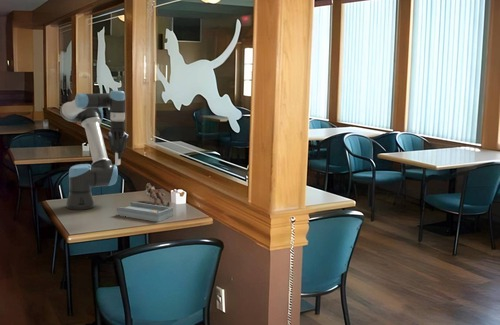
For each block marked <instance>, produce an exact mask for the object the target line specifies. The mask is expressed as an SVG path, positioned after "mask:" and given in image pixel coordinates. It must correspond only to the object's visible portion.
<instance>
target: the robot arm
mask: <svg viewBox="0 0 500 325" xmlns="http://www.w3.org/2000/svg"><path fill="white" fill-rule="evenodd" d="M103 108H104V109H105V108H106V109H107V108H109V110H110V115H109V116H110V117H109V118H110V122H109V124H110V125H109V126H110V131H109V132H106V136H107V139H108V144H109V148H110V151H111V152H113V158H114V160H115V161H114V162H115V163H114V164H113V162H112V160H111V159H109V157H108V154H107V148H106V145H105V141H104V136H103V133H102V130H101V124H102V121H103V118H104V110H103ZM59 110H60V111H59V113H60V116H61V117H62V118H63V119H64V120H66V121H67V122H71V123H80V125H81V126H82V128H84V131H85V134H86V138H87V142H88V147H89V151H90V156H91V158H92V163H91V164H90V163H80V164H75V165H72V166H70V168H69V170H68V187H69V188H68V189H69V190H68V191H69V194H68V197H67V200H66V202H65V207H66V208H67V209H69V210H75V211H76V210H79V211H80V210H90V209H93V208H94V207H95V204H96V203H95V200H94V198H93V194H92V188H96V187H97V188H98V187H109V186H113V185H115V184H117V181H118V175H119V174H118V173H119V171H118V166H120V165H121V164H122V162H121V159H122V157H123V156H122V155H123V154H122V153H124V152H126V148H127V143H128V139H129V137H130V134H128V133H126V129H125V128H126V121H125V120H126V93H125V91H123V90H111V91H110V92H105V93H85V92H82V93H76V95H75V96H74V99H73V100H72V101H66V102H65V103H63V104H62V105H61V106H60V109H59Z"/></svg>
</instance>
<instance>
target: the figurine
mask: <svg viewBox="0 0 500 325" xmlns="http://www.w3.org/2000/svg"><path fill="white" fill-rule="evenodd" d="M145 194H146V196H148V197H149V198H152V199H153V203H154V204H153V205H158V206H160V204H159V202H158V199H159V200H160V203H161V204H162V206H165V207H170V202H169V201H167V203H165V200H164V198H163V196H164V197H165V196H166V194H165V192H161V190H160V186H157V189H156V188H155V186H154V185H153V186H152V185H151V183H150V182H149V183H146V185H145Z"/></svg>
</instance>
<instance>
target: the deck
mask: <svg viewBox="0 0 500 325" xmlns="http://www.w3.org/2000/svg"><path fill="white" fill-rule="evenodd" d="M173 210H174V208H173V207H172V206H171V207H170V206H169V207H165V206H163V205H159V206H158V205H155V204H151V203H143V202H136V201H131V202H130V205H129V206H125V207H124V206H123V207H122V206H116V216H118V215H120V217H125V216H126V218H132V219H139V220H145V221H151V222H156V223H159V222H162V221H164V220H166V219H169V218H171V217H173V215H174V214H173V213H174V211H173ZM152 211H156V212H152Z"/></svg>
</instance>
